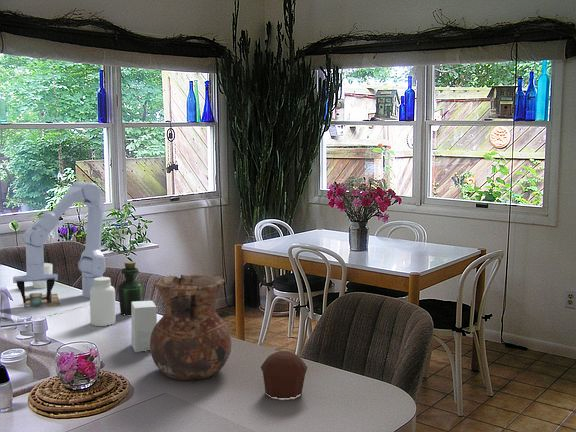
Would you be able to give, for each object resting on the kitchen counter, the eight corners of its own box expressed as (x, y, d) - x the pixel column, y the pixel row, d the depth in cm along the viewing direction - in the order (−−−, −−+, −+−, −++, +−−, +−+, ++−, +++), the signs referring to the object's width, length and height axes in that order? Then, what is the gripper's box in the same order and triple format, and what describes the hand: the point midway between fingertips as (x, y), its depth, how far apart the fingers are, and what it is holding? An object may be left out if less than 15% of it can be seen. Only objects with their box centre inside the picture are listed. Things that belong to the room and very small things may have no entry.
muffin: (313, 400, 159) (314, 359, 158) (267, 405, 156) (268, 363, 155) (298, 383, 170) (299, 344, 169) (255, 386, 167) (256, 347, 166)
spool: (45, 308, 237) (44, 293, 236) (35, 311, 233) (35, 296, 232) (36, 307, 239) (36, 292, 238) (27, 309, 235) (26, 294, 234)
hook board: (61, 309, 236) (60, 295, 236) (23, 312, 232) (23, 298, 231) (57, 297, 254) (56, 284, 253) (22, 299, 249) (22, 286, 248)
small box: (157, 350, 193) (157, 306, 192) (134, 352, 191) (134, 308, 190) (152, 342, 201) (152, 299, 200) (131, 344, 199) (130, 301, 197)
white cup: (46, 292, 261) (45, 267, 260) (27, 291, 262) (27, 266, 261) (56, 288, 268) (56, 263, 267) (39, 287, 270) (38, 262, 269)
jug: (142, 363, 183) (142, 272, 180) (216, 354, 191) (217, 268, 188) (160, 392, 162) (160, 290, 160) (242, 381, 171) (244, 284, 168)
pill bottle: (85, 325, 218) (84, 279, 216) (100, 319, 225) (100, 275, 224) (105, 328, 215) (104, 282, 213) (120, 321, 222) (120, 277, 221)
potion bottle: (113, 313, 233) (113, 261, 231) (134, 309, 238) (134, 259, 236) (125, 318, 227) (125, 265, 225) (146, 314, 232) (146, 262, 230)
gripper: (56, 260, 240) (57, 297, 242) (12, 262, 235) (13, 300, 236) (57, 263, 234) (58, 301, 235) (12, 266, 228) (14, 305, 230)
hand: (36, 301), depth 235 cm, fingers open, 7 cm apart
